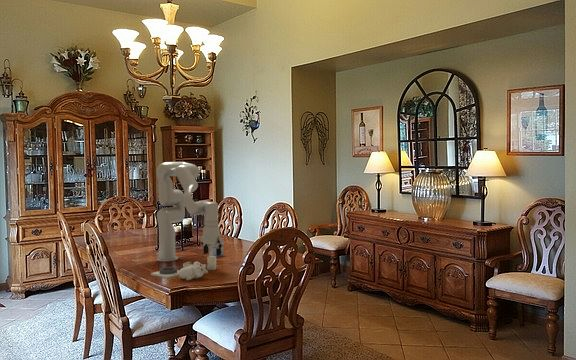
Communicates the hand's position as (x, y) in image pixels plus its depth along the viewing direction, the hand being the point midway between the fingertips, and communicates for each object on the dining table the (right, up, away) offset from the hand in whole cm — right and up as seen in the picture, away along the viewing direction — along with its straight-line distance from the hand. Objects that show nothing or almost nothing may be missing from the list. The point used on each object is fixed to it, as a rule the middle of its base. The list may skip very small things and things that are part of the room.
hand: (212, 254), depth 286 cm
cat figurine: (-7, -10, -20) cm, 24 cm away
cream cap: (0, -8, +1) cm, 8 cm away
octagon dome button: (-22, -9, -11) cm, 26 cm away
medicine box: (-3, -7, +36) cm, 36 cm away
